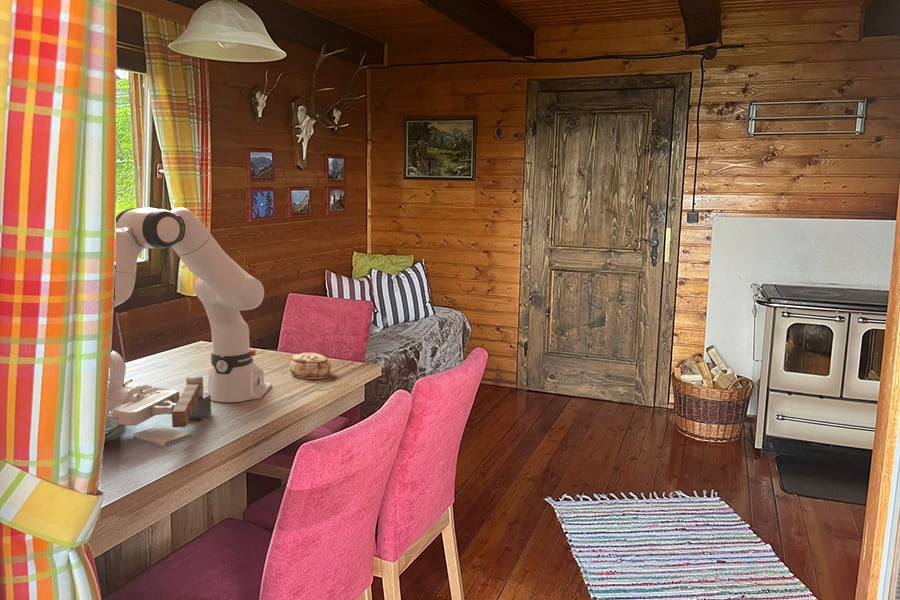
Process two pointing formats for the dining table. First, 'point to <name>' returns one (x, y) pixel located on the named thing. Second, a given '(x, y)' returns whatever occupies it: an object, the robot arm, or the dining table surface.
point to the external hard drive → (162, 435)
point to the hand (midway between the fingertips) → (175, 409)
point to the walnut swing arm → (187, 401)
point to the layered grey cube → (202, 408)
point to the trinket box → (309, 366)
